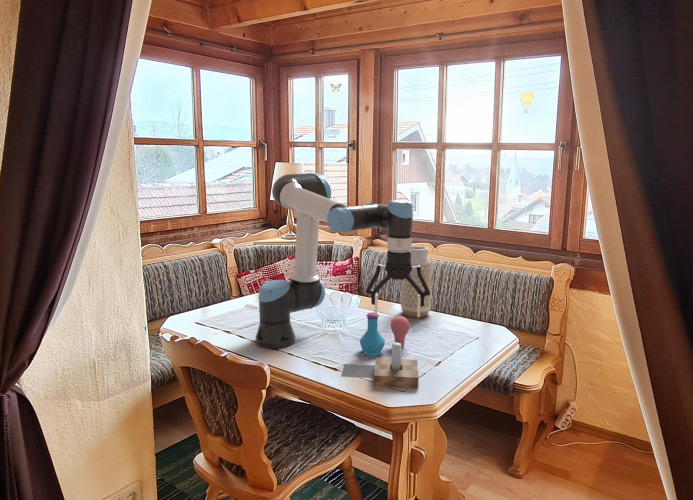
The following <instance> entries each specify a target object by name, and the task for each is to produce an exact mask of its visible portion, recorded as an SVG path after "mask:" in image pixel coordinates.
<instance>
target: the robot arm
mask: <svg viewBox="0 0 693 500" xmlns="http://www.w3.org/2000/svg"><path fill="white" fill-rule="evenodd" d="M271 193H272V197H273V200H274V201H275V202H276V203H277V205H279V206H281V207H283V208H284V209H287V210H294V211H295V212H296V213H297V214H296V230H295V232H296V233H295V251H294V253H295V255H294V272H292V273H291V274H290V277H289V278H290V279H289V280H290V281H287V280H286V279H274V280H270V281H267V282H265V283H263V284H261V286H260V287H259V290H258V308H259V309H258V311H259V325H258V329H257V331H256V334H255V344H256V345H257V346H259V347H260V348H264V349H282V348H288V347H289V346H292V345H293V344H294V343H295V342H296V334H295V331H294V329H293V327H292V323H291V313H295V312H300V311H305V310H311V309H314V308H316V307H318V306H320V305H322V303H323V302H324V300H325V297H326V288H325V284H324V282H323V281H322V279H321V277H320V275H319V274H318V273H317V265H318V246H319V231H320V228H319V227H320V222H321V221H322V222H323V223H325V224H327V226H328V228H329V229H330V231H332V232H334V233H347V232H353V231H361V230H368V229H376V228H377V229H383V230H387V236H386V237H387V242H386V244H387V245H386V247H387V249H388V250H387V251H386V264H385V265H384V264H381V263H377V264H376V268H375V269H376V271H375V272H374V274H373V276H372V278H371V279H370V281H369V283H368V285H367V287H366V289H365V293H366V294H370V296H371V297H370V298H371V305H373V306H374V313H375V315H377V314H378V306H379V305H378V304H379V303H378V302H379V300H378V299H379V294H378V292H379V291H380V289H382V288H383V287H384V285H385V284H387V282H389V281H390V279H392V280H395V281H396V280H400V281H402V280H403V279H405V278H406V279H407V281H408V282H409V283H410V284H411V285H412V286H413V287H414V289H415V290H416V291H417V292H418V294H419V295H418V309H417V317H418V318H421V317H420V306H421V307H423V306H424V297H425V296H427V295H428V296H429V295H430V290H429V288H428V286H427V284H426V282H425V280H424V278H423V275H422V273H421V267H420V265H417V266H411V251H410V250H411V246H412V240H413V239H412V237H413V236H412V232H413V218H414V213H413V203H412V202H411V201H410V200H403V199H393V200H389V202H388V203H387V204H388V205H387V204H381V203H377V202H367V203H364V204H363V205H362V204H361V205H352V206H350V205H346V204H343V203H341V202H339V201H336V200H333V199H331V197H332V188H331V184H330V182H329V181H328V178H327V177H326V176H325V175H324V174H323V173H322V174H321V173H317V172H316V173H314V172H308V173H306V172H305V173H294V174H292V173H290V174H289V173H287V174H284V175H282V176H280V177H279V178H277V179H276V180H275V182H274V183H273V186H272V190H271ZM384 270H385V272H386V275H385V276H384V277H383V278H382V279H381V281H379V282H378V283H377V285H376V286H375V287H374V285H375V283H376V281H377V279H378V277H379V276H380V273H381V272H383V271H384ZM412 270H414V272H415V273H417V275H418V277H419V279H420V281H421V284H422V286H423V288H424V290H425V291H422V289H421V288H420V287H419V286H418V285H417V283H416V282H415V281H414V280H413V278H412V277H411V276H410V272H411V271H412ZM373 287H374V288H373Z"/></svg>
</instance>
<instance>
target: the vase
mask: <svg viewBox="0 0 693 500" xmlns="http://www.w3.org/2000/svg"><path fill="white" fill-rule="evenodd" d="M410 251H411V266H417V265H420V267H421V273H422V275H423V278H424V280H425V282H426V284H427V286H428V288H429V290H430V295H429V296H428V295H427V296H425V297H424V306H423V307H421V306H420V317H417V309H418V295H419V294H418V292H417V291H416V290H415V289H414V287H413V286H412V285H411V284H410V283H409V282H408V281H407V279H406V278H405V279H403V280H401V291H400V308H401V311H402V312H403V314H404V315H405V316H406V317H409V318H424V317H426V316H427V315H428V314H429V313H430V311H431V308H432V261H431V259H430V257H429V248H428V247H427V246H424V245H411V250H410ZM410 276H411V277H412V278H413V280H414V281H415V282H416V283H417V285H418V286H419V287H420V288H421V289H422V291H425V290H424V288H423V286H422V284H421V281H420V279H419V277H418V275H417V273H415V272H414V270H412V271H411V272H410Z"/></svg>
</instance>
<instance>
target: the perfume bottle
mask: <svg viewBox="0 0 693 500" xmlns="http://www.w3.org/2000/svg"><path fill="white" fill-rule="evenodd" d="M365 316H366V318H367V330H366V331H365V332H364V334H363V335H362V336H361V338H360V339H359V344H360V347H361V350H362V352H363V354H365V355H367V356H378V355H380V354H382V351H383V348H384V346H385V342H386V340H385V339H384V337H383V336H382V335H381V333H380V332H379V330H378V319H379V317H380V315H379V314H378V313H377V315H375V312H367V314H366V315H365Z"/></svg>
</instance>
